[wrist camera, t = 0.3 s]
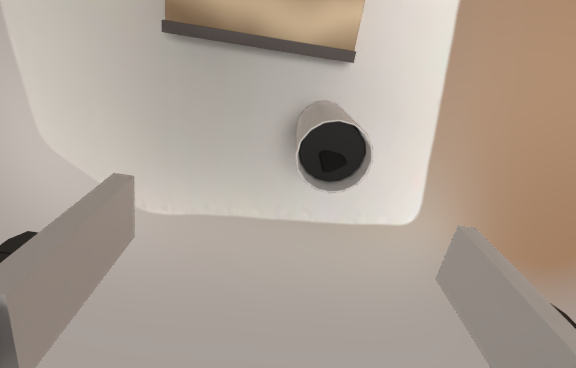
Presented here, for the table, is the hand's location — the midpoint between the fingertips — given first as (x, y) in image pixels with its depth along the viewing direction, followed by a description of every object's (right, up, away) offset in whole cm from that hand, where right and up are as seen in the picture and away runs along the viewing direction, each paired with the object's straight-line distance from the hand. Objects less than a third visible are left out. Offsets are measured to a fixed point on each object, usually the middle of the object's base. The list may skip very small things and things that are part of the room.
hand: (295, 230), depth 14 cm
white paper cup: (+4, +8, +25) cm, 26 cm away
